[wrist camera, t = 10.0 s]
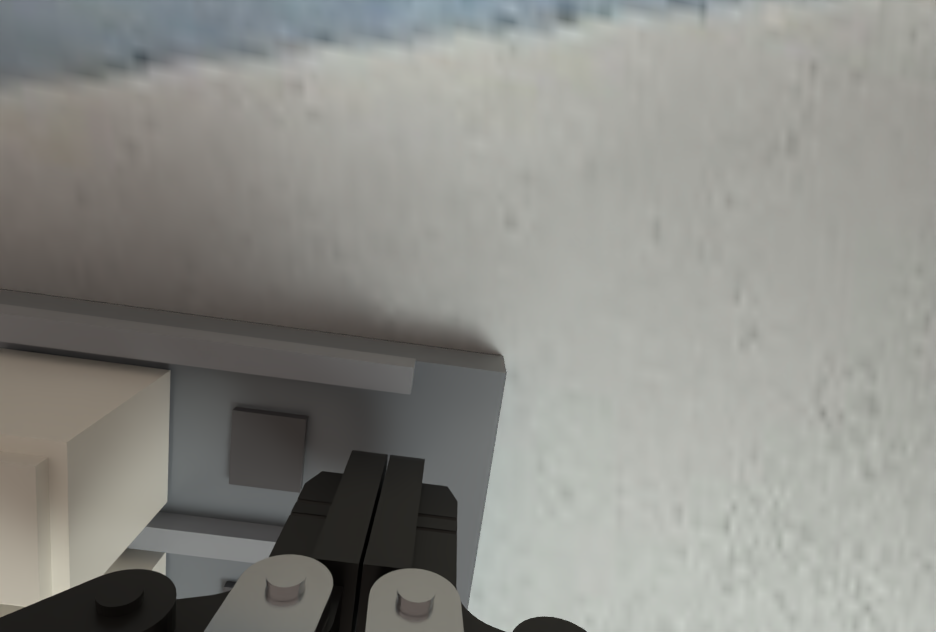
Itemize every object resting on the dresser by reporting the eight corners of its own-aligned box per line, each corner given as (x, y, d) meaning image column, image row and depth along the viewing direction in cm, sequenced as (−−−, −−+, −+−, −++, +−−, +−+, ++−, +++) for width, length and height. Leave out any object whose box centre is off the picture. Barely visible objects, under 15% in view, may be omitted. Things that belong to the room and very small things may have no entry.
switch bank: (503, 353, 14) (511, 394, 12) (429, 809, 18) (423, 915, 15) (-378, 236, 14) (-570, 252, 11) (-280, 736, 17) (-411, 836, 14)
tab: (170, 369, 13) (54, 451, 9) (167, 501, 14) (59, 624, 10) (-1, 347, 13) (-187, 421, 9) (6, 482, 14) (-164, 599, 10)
